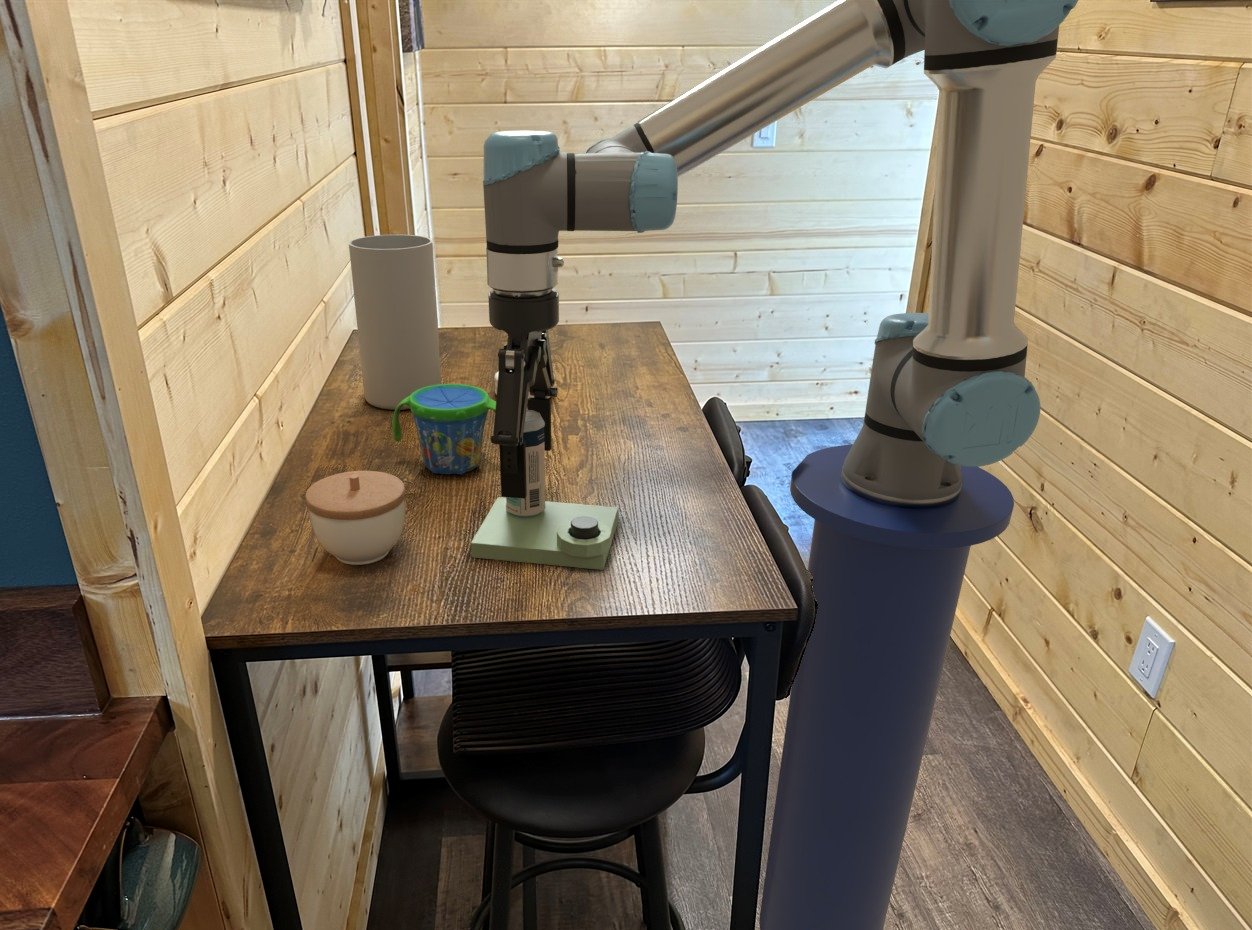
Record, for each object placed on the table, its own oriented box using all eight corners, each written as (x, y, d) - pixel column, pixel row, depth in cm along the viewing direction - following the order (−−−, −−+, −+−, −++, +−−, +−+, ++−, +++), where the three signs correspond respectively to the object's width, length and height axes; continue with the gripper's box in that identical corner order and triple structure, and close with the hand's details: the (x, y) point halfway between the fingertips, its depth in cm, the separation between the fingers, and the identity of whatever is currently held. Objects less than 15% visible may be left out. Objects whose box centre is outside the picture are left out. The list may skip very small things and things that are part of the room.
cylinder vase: (445, 385, 155) (436, 234, 144) (438, 411, 144) (427, 249, 133) (371, 386, 155) (356, 234, 144) (358, 411, 144) (341, 249, 132)
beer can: (550, 503, 110) (549, 410, 105) (540, 521, 106) (538, 424, 101) (512, 499, 111) (509, 406, 106) (500, 516, 107) (497, 421, 102)
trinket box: (358, 521, 110) (350, 450, 106) (429, 543, 105) (423, 469, 101) (293, 559, 102) (281, 483, 97) (366, 585, 97) (357, 506, 93)
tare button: (599, 529, 102) (600, 517, 101) (595, 542, 99) (595, 529, 98) (573, 527, 102) (573, 514, 101) (568, 539, 100) (568, 527, 99)
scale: (621, 521, 110) (622, 495, 109) (606, 574, 99) (606, 546, 97) (498, 510, 113) (497, 484, 111) (468, 561, 101) (467, 533, 100)
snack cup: (518, 456, 128) (516, 387, 123) (496, 487, 119) (493, 414, 114) (413, 446, 131) (408, 378, 126) (384, 476, 122) (377, 404, 117)
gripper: (532, 320, 85) (536, 522, 95) (578, 266, 107) (578, 434, 117) (455, 316, 86) (466, 516, 96) (516, 263, 108) (520, 430, 118)
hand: (527, 471), depth 106 cm, fingers open, 13 cm apart
